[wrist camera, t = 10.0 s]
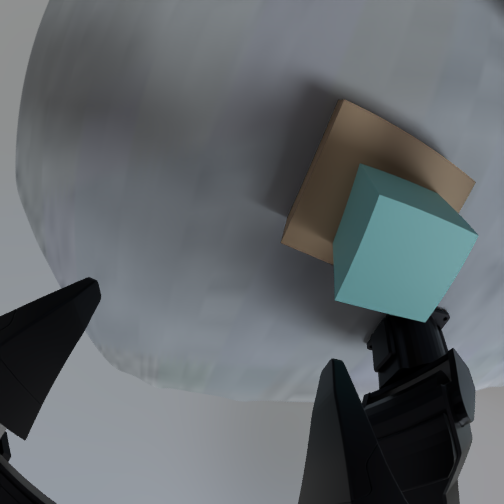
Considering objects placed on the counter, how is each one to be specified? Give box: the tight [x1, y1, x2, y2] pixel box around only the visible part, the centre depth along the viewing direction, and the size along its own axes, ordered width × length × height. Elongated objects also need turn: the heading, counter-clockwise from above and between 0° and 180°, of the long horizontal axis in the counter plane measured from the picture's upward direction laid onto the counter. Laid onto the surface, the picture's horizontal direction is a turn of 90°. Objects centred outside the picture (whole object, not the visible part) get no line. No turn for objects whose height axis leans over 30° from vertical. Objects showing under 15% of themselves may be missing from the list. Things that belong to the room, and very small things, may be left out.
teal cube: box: [333, 163, 478, 322], centre depth 12 cm, size 5×5×5 cm
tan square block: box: [281, 99, 475, 265], centre depth 15 cm, size 9×9×4 cm
